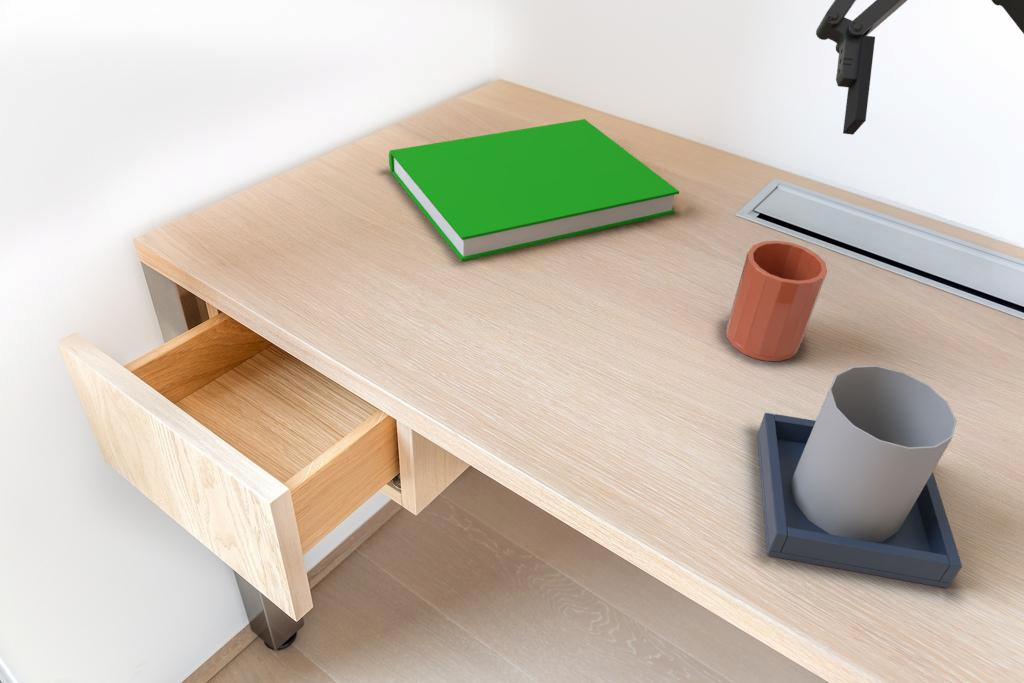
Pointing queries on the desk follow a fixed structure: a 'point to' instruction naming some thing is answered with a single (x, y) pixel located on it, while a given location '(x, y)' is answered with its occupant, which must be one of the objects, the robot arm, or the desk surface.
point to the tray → (790, 535)
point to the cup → (871, 452)
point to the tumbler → (775, 300)
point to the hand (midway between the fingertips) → (948, 138)
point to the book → (528, 187)
